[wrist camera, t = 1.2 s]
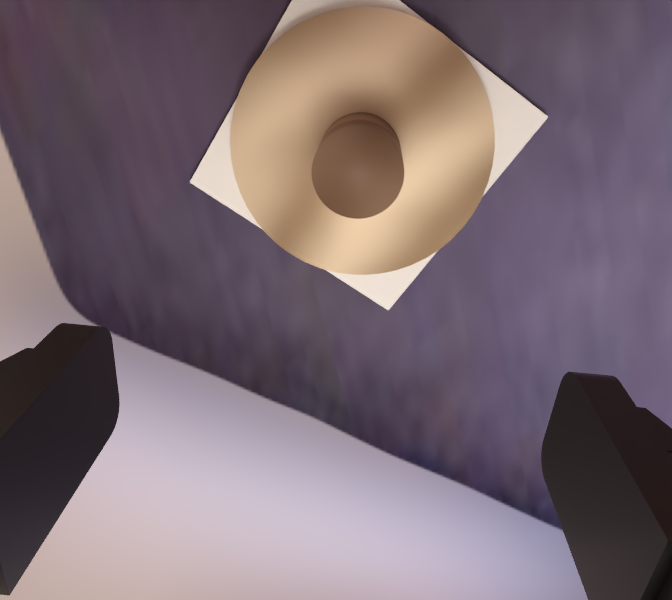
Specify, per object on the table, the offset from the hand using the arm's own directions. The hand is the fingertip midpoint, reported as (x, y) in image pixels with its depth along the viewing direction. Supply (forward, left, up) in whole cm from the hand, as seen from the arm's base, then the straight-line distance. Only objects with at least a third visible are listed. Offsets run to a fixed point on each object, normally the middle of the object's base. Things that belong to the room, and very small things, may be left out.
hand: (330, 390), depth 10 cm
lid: (0, 0, -21) cm, 21 cm away
